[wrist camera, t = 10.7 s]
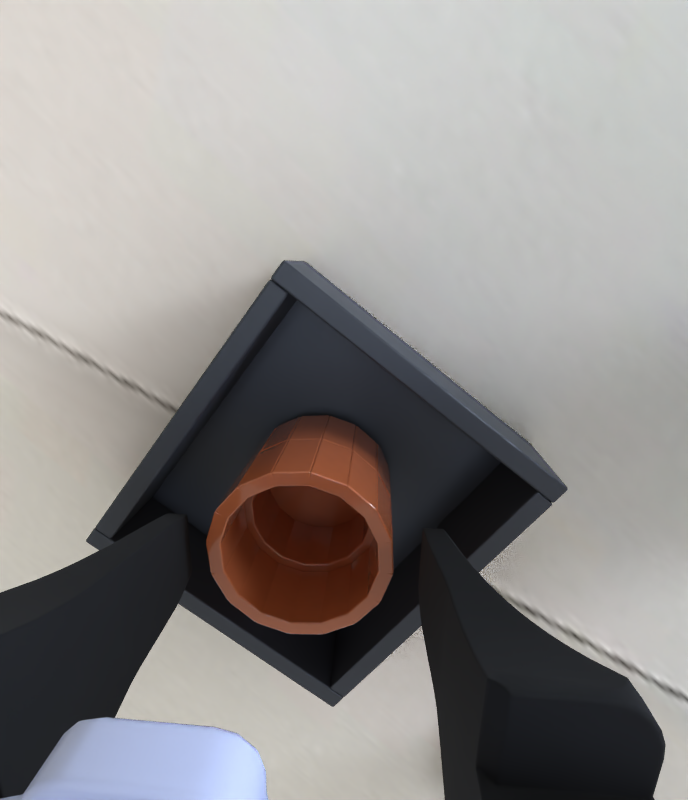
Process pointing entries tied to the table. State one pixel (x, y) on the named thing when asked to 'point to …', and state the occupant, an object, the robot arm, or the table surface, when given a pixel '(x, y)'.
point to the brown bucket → (306, 528)
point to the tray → (374, 414)
